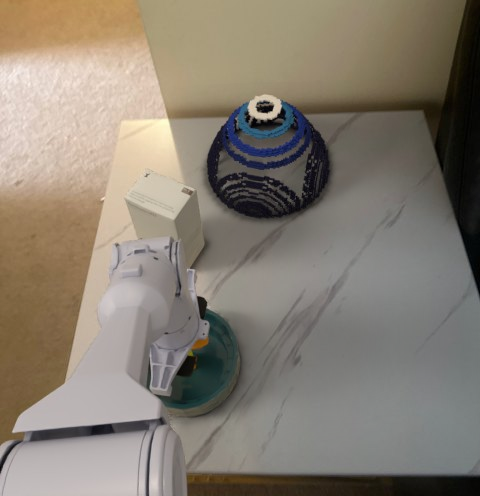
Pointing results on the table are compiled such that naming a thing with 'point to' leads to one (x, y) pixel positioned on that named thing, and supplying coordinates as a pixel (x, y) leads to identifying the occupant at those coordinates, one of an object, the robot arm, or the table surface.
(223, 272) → the table surface
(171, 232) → the cosmetic box
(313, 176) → the decorative bowl
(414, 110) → the table surface
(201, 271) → the table surface
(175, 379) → the glazed bowl
